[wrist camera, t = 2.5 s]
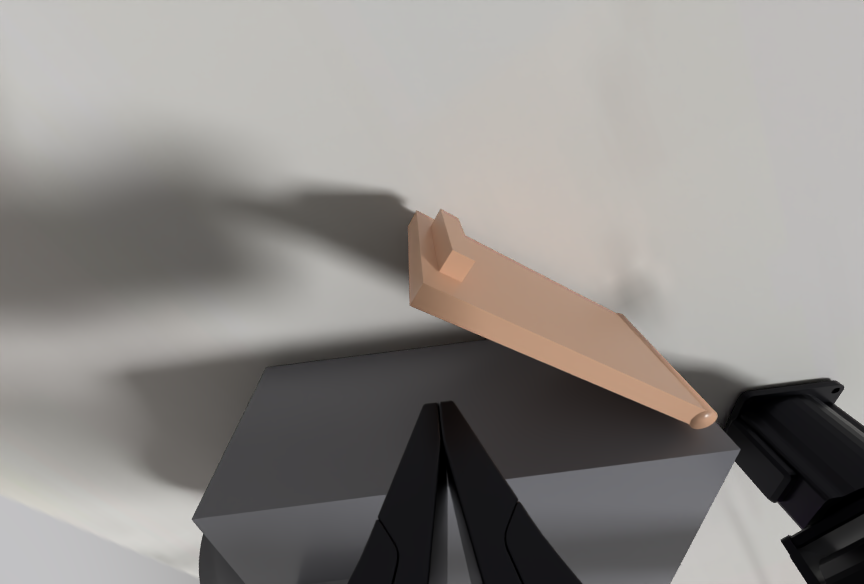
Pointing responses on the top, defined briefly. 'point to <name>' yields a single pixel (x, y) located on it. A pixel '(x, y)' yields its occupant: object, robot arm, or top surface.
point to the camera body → (499, 434)
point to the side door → (540, 318)
